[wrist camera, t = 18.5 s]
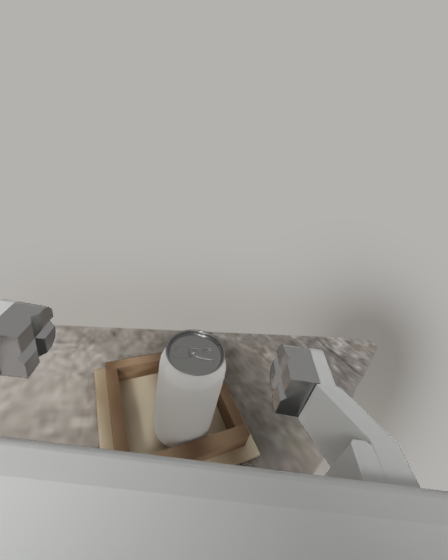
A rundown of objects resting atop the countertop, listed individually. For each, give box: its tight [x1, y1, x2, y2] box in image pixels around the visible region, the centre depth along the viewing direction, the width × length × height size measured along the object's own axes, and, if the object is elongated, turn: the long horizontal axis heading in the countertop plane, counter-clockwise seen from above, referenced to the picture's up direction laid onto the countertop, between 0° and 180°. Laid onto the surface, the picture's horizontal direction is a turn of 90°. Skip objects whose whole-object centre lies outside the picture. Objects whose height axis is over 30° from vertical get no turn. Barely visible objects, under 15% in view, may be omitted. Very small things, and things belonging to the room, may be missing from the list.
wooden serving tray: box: [94, 353, 260, 465], centre depth 34 cm, size 16×16×3 cm
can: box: [154, 330, 226, 448], centre depth 30 cm, size 6×6×12 cm
